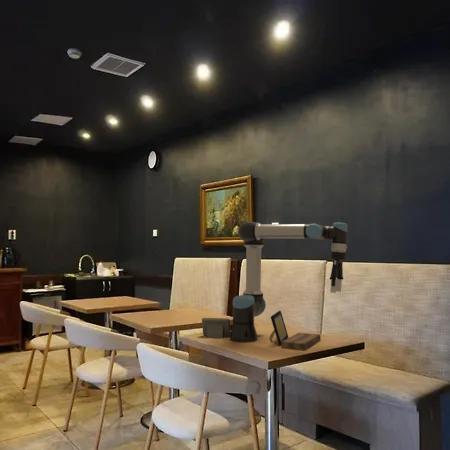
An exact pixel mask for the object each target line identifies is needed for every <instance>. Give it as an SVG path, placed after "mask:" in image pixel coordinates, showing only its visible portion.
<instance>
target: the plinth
mask: <svg viewBox="0 0 450 450" xmlns="http://www.w3.org/2000/svg"><path fill="white" fill-rule="evenodd" d="M320 341H321V334H319V333H307V332H306V333H305V332H298V333H296V334H293V335H291V336H290V337H289V336H288V338H287V339H286V340H284V341H282V342H281V346H280V347H281V349H289V350H290V349H291V350H298V351H306V350H307V349H309V348H311V347H312V346H314V345H315V344H316V343H319V342H320Z"/></svg>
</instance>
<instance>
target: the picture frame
mask: <svg viewBox="0 0 450 450" xmlns="http://www.w3.org/2000/svg"><path fill="white" fill-rule="evenodd" d="M270 320H271V324H272V327H273V330H272V332H271V334H270V336H269V339H268V340H270V342H272V341H273V338H274V337H276V341H277V345H278V346H279V347H281V342H282V341H284V340H286V339H288V338H289V335H288V331H287V330H288V329H287V327H286V325H285V321H284V317H283V314H282V310H278V311H276V312H275V313H274V314H272V315H271V316H270Z"/></svg>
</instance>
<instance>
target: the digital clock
mask: <svg viewBox="0 0 450 450" xmlns="http://www.w3.org/2000/svg"><path fill="white" fill-rule="evenodd" d="M201 325H202V335H203V336H205V337H207V338H208V339H223V338H225V337H228V338H229V337H230V333H231V319H230V318H227V317H226V318H224V317H222V318H221V317H219V318H218V317H203V318H201Z"/></svg>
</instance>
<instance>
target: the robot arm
mask: <svg viewBox="0 0 450 450" xmlns="http://www.w3.org/2000/svg"><path fill="white" fill-rule="evenodd" d="M237 234H238V237H239V238H240V240H242V241H243V246H244V247H245V248H246V251H245V252H246V255H245V259H246V260H245V264H246V266H245V290H244V291H243V293H242V294H241V295H240V294H239V295H236V296H234V297H233V299H232V326H231V328H230V330H231V333H230V336H229V340H230V341H232V342H238V343H249V342H251V343H252V342H256V341H257V340H258V333H257V330H256V327H255V317H258V316H260V315H262V314H263V313H264V311H265V309H266V308H267V307H266V306H267V303H266V301H265V298H264V292H263V291H262V290H261V289H262V287H261V285H262V279H261V278H262V248H263V247H264V246H265V240H266V239H303V240H304V239H306V240H307V239H308V240H309V239H311V240H312V239H314V240H323V241H324V240H327V241H331V252H330V259H331V260H332V265H331V272H330V277H329V280H330V293H333V294H336V293H337V292H339V293H341V292H342V281H343V280H344V277H343V276H344V275H343V274H344V273H343V270H344V269H343V263H344V262H343V260H346V258H347V257H346V255H347V254H346V252H347V248H348V245H347V242H348V223H345V222H333V224H332V225H323V224H322V225H320V224H318V223H308V224H306V223H298V224H297V223H292V224H289V223H287V224H286V223H284V224H282V223H278V224H277V223H276V224H275V223H274V224H273V223H272V224H271V223H270V224H269V223H268V224H266V223H265V224H264V223H263V224H262V223H260V222H256V221H249V220H248V221H244V222H242V223H241V224H240V225H239V226H238V229H237Z"/></svg>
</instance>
